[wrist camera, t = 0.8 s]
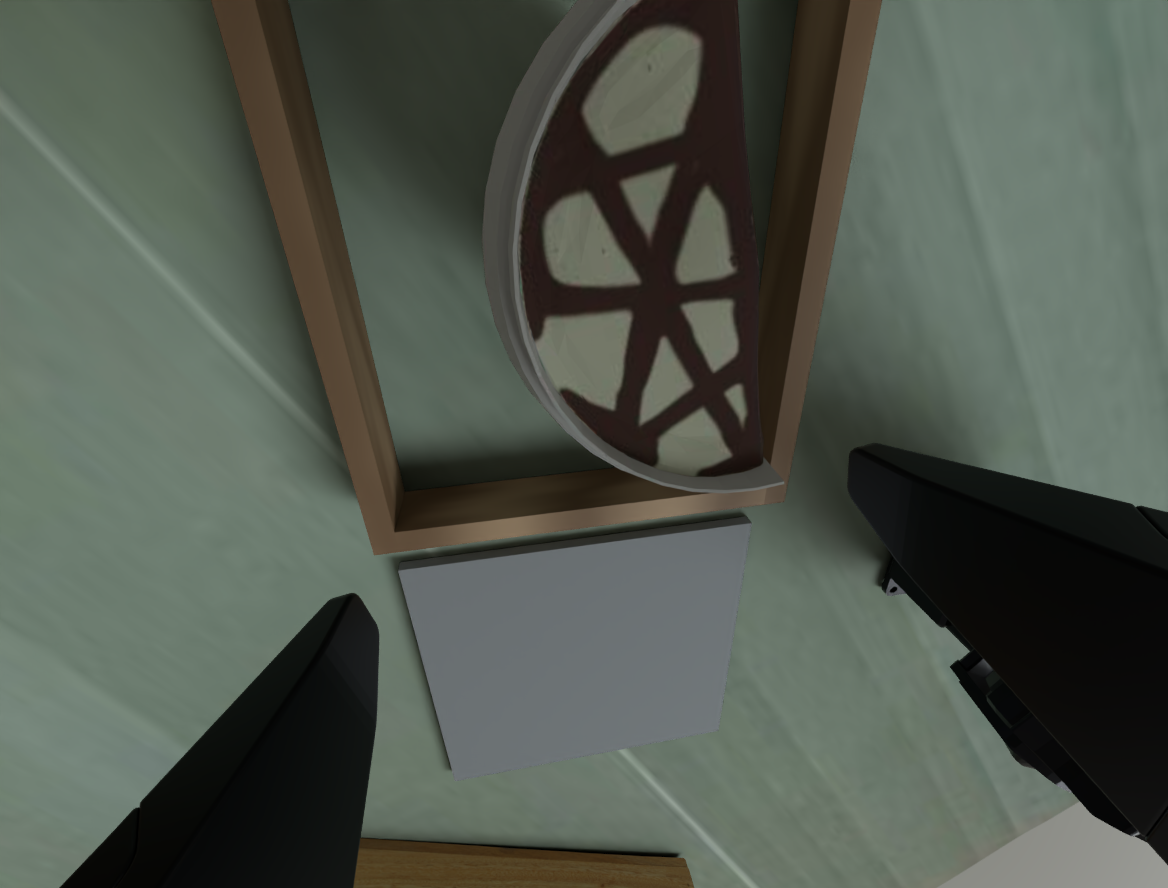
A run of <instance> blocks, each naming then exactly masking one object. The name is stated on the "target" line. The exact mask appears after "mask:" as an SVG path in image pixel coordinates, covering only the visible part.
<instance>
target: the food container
mask: <svg viewBox="0 0 1168 888" xmlns="http://www.w3.org/2000/svg"><path fill="white" fill-rule="evenodd" d="M482 246H483V258H484V270H485V283H486V287H487V292H488V296H489V300H490V304H491V308H492V312H493V317H494V321H495V325H496V327H497V329H498V332H499V334H500V337H501V339H502V341H503V344H504V346H505V349H506V351H507V354H508V356H509V358H510V361H511V362H512V364H513V365H514V367H515V369H516V370H517V372H518V373H519V375H520V377H521V378H522V380H523V382H524V383H525V385H526V386H527V388H528V390H529V391H530V392H531V393H532V395H533V396H534V397H535V398H536V399H537V400H538V401H539V403H540V404H541V405H542V406H543V407H544V408H545V409H546V411H547V412H548V413H549V414H550V415H551V416H552V417H553V418H554V419H555V421H556V422H557V423H558V424H559V425H560V426H561V427H562V428H563V429H564V430H565V431H566V432H567V433H568V434H569V435H571V436H572V437H573V438H574V439H575V440H577V441H578V442H579V443H580V444H581V445H583V446H584V447H585V448H586V449H587V450H589V451H590V452H591V453H592V454H594V455H596V456H597V457H599V458H601V459H603V460H604V461H606V462H608V463H610V464H611V465H613V466H615V467H616V468H618V469H620V470H623V471H625V472H628V473H631V474H633V475H635V476H638V477H641V478H643V479H646V480H649V481H652V482H654V483H657V484H660V485H662V486H667V487H672V488H677V489H682V490H686V491H691V492H707V493H733V492H744V491H755V490H760V489H764V488H769V487H773V486H777V485H782V484H784V481H783V480H782V478H781V477H780V476H779V475H778V474H777V472H776V471H775V470H774V469H773V468H772V466H771V465H770V464H769V463H768V462H767V460H766V459H765V458H764V457H763V444H764V438H763V434H762V430H761V421H760V410H759V385H758V328H759V262H758V252H757V242H756V232H755V223H754V215H753V207H752V199H751V190H750V180H749V169H748V159H747V149H746V138H745V123H744V106H743V88H742V71H741V53H740V35H739V17H738V0H578V1H577V2H576V3H575V4H574V6H573V7H572V8H571V9H570V11H569V12H568V13H567V14H566V16H565V17H564V18H563V19H562V21H561V22H560V23H559V24H558V25H557V27H556V28H555V29H554V30H553V32H552V33H551V34H550V35H549V37H548V38H547V39H546V40H545V42H544V43H543V44H542V46H541V48H540V50H539V51H538V53H537V55H536V57H535V58H534V60H533V62H532V64H531V65H530V67H529V69H528V71H527V72H526V74H525V76H524V78H523V79H522V81H521V83H520V85H519V86H518V88H517V90H516V92H515V94H514V97H513V99H512V102H511V104H510V107H509V110H508V112H507V115H506V117H505V120H504V123H503V125H502V128H501V130H500V133H499V136H498V138H497V141H496V145H495V149H494V154H493V158H492V163H491V167H490V172H489V176H488V181H487V185H486V190H485V202H484V216H483V231H482Z"/></svg>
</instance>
